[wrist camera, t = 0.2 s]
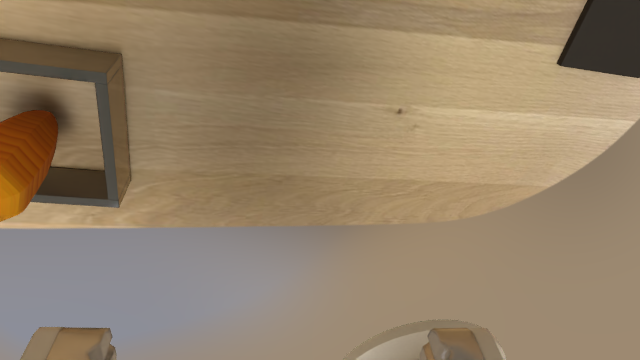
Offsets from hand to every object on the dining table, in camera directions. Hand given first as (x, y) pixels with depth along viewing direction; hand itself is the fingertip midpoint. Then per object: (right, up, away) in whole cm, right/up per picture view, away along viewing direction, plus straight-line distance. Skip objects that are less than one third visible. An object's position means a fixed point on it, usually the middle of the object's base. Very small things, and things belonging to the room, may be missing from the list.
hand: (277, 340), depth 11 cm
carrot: (-21, +9, +23) cm, 32 cm away
